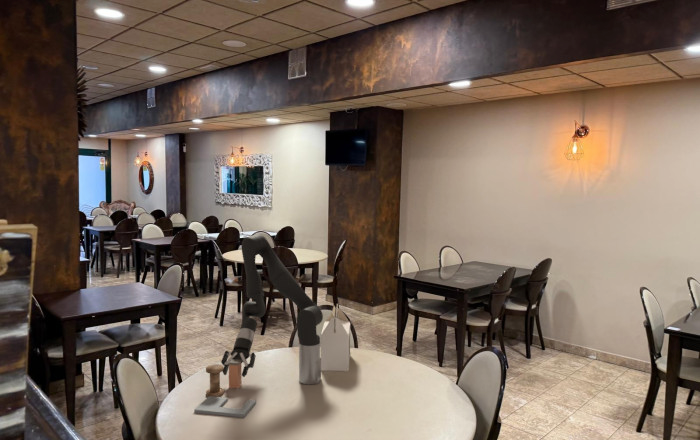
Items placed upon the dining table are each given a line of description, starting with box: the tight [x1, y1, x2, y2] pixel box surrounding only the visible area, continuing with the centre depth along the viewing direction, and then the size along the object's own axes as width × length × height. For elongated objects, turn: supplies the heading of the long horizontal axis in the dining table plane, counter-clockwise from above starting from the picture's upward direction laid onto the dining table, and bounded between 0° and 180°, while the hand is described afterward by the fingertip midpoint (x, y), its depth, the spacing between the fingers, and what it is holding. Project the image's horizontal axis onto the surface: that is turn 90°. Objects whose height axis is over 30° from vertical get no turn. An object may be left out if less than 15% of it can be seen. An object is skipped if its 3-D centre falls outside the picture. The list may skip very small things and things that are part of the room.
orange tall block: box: [228, 359, 242, 389], centre depth 202 cm, size 4×4×11 cm
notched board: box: [193, 396, 257, 418], centre depth 182 cm, size 20×12×1 cm, turn 80°
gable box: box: [320, 303, 351, 372], centre depth 231 cm, size 22×13×28 cm, turn 178°
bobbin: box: [205, 363, 225, 398], centre depth 194 cm, size 7×7×11 cm
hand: (233, 375), depth 201 cm, fingers open, 8 cm apart
